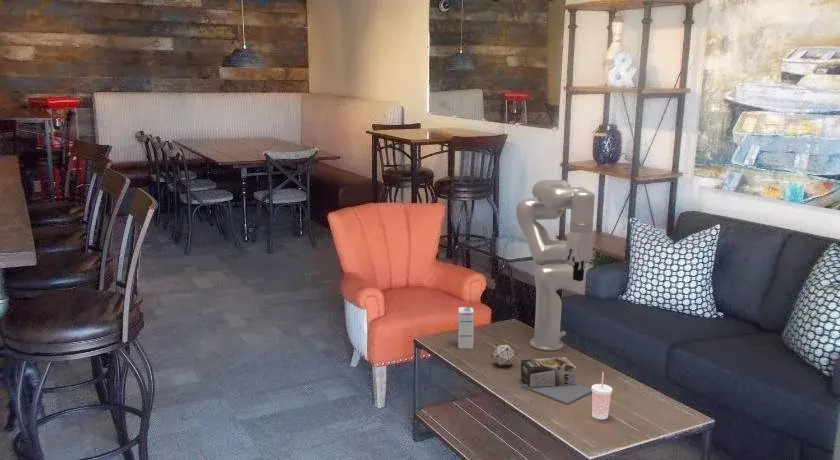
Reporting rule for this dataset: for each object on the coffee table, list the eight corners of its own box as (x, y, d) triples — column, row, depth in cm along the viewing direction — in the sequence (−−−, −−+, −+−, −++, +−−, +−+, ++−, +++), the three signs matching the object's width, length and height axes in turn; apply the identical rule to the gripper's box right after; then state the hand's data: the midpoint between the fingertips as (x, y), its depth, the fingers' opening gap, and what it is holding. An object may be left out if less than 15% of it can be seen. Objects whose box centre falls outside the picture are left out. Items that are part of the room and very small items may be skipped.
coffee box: (576, 366, 238) (530, 369, 235) (575, 384, 240) (529, 388, 236) (565, 356, 247) (520, 359, 243) (564, 373, 248) (519, 377, 245)
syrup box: (473, 348, 272) (474, 311, 269) (457, 348, 272) (458, 311, 269) (472, 343, 278) (473, 307, 275) (457, 343, 278) (458, 306, 275)
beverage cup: (605, 410, 222) (608, 367, 219) (613, 419, 216) (617, 375, 214) (586, 412, 221) (589, 368, 218) (594, 421, 215) (597, 376, 213)
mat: (549, 375, 249) (549, 373, 249) (594, 391, 236) (594, 389, 236) (521, 387, 238) (521, 385, 238) (567, 404, 226) (567, 403, 226)
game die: (507, 376, 256) (515, 362, 249) (485, 366, 257) (493, 351, 250) (514, 358, 262) (522, 343, 255) (492, 348, 263) (500, 333, 256)
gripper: (584, 223, 252) (581, 274, 256) (558, 228, 242) (555, 281, 246) (603, 226, 247) (599, 278, 251) (578, 232, 237) (574, 286, 241)
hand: (578, 280), depth 248 cm, fingers closed
